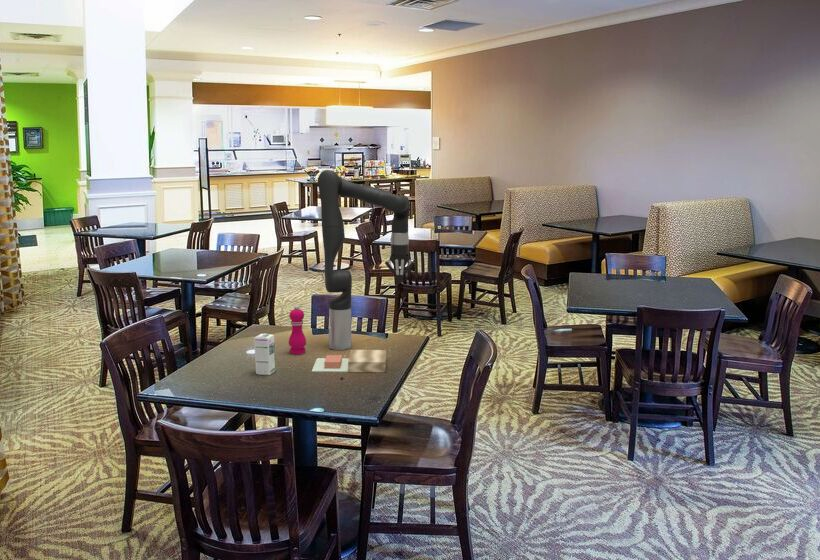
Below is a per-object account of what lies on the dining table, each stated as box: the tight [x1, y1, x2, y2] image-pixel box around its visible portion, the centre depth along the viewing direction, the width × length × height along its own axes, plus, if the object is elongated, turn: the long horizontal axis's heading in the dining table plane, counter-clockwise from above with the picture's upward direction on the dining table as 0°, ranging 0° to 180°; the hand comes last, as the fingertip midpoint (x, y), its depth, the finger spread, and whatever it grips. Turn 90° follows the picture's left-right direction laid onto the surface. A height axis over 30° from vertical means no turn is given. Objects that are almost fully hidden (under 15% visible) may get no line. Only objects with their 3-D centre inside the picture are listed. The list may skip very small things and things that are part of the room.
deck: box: [347, 349, 387, 373], centre depth 269 cm, size 14×16×4 cm
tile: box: [324, 354, 343, 368], centre depth 268 cm, size 6×9×2 cm, turn 0°
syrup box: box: [253, 333, 277, 376], centre depth 259 cm, size 6×6×14 cm
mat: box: [311, 357, 349, 373], centre depth 269 cm, size 14×16×1 cm
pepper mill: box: [288, 305, 307, 355], centre depth 284 cm, size 7×7×20 cm
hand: (399, 283), depth 294 cm, fingers closed
